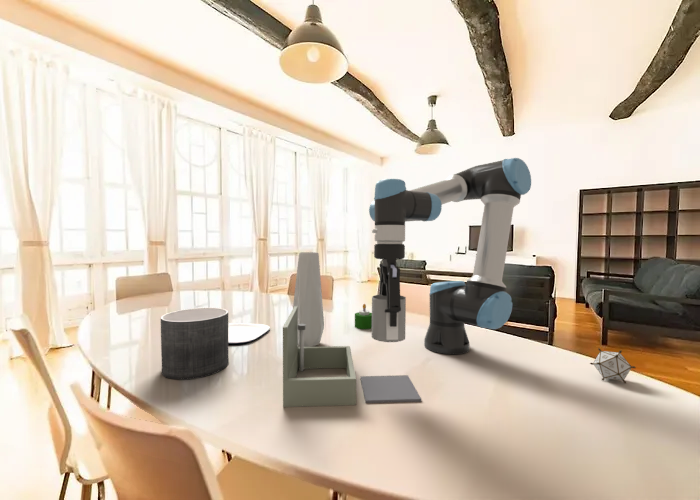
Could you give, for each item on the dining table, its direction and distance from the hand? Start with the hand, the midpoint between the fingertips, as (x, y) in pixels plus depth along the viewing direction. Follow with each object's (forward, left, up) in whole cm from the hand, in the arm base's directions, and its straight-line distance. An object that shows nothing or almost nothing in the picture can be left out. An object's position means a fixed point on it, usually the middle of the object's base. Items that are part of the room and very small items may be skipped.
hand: (388, 333), depth 80 cm
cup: (0, 0, -1) cm, 1 cm away
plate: (+53, -49, -15) cm, 74 cm away
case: (+17, -4, -14) cm, 22 cm away
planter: (+54, -17, -14) cm, 58 cm away
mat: (0, 0, -14) cm, 14 cm away
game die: (-61, -2, -14) cm, 63 cm away
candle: (0, -58, -14) cm, 60 cm away
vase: (+22, -36, -14) cm, 45 cm away
